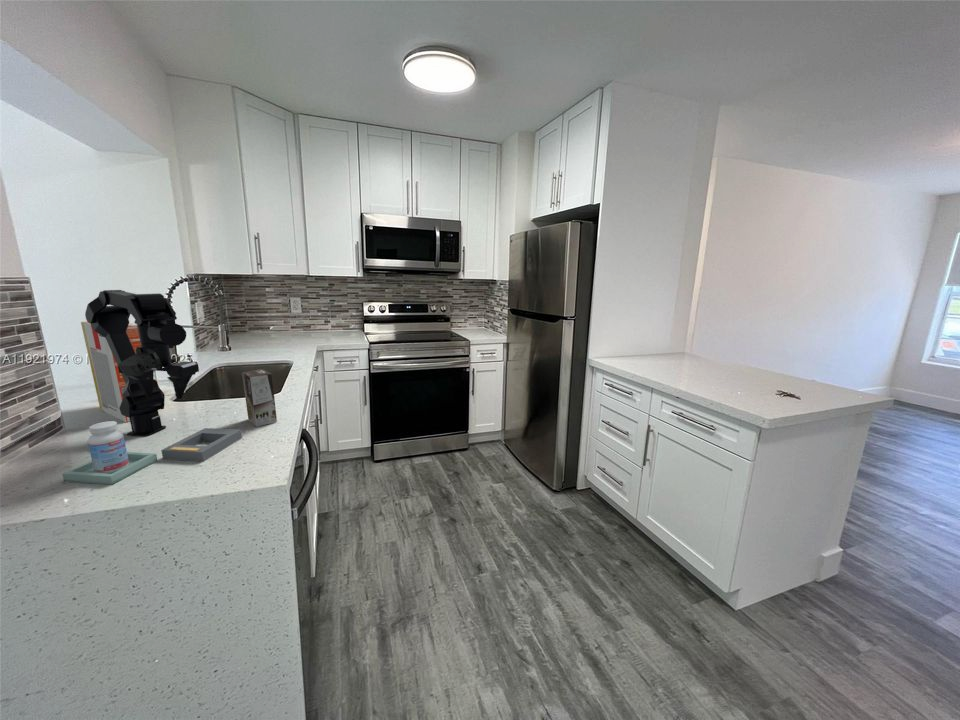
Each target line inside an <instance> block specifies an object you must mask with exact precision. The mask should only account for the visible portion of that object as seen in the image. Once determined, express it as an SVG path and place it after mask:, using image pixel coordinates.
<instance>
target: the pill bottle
mask: <svg viewBox="0 0 960 720" xmlns="http://www.w3.org/2000/svg"><path fill="white" fill-rule="evenodd" d="M118 428H119V427H118V422H117V421H114V420H111V421H110V420H108V421H102V422H97V423H94V424H92V425H90V426H89V427H88V429H89V433H90V434H91V435H90V436H89V437H88V439H87V446H88V450H89V453H90V458H91V460H92V464H93V469H94V472H95V473H105V474H109V473H113V472H116V471H118V470H120V469H122V468H124V467H126V466H128V465H129V459H128V455H127V452H128V451H127V446H126V441H125V437H124V432H122V431H121V430H119V429H118Z"/></svg>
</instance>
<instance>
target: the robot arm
mask: <svg viewBox="0 0 960 720" xmlns="http://www.w3.org/2000/svg"><path fill="white" fill-rule="evenodd" d="M176 314H177V313H176V311H175V310H174V308H173V307H172V305H171V304H170V303H169V300H168V299H167V298H166V297H165V296H164V295H163V294H162V293H134V292H128V291H125V290H121V289H108V290H107V289H106V290H105V289H104V290H103V291H101V290H100V291H99V294H98V296H97V297H95V298H94V299H93V300H92V301H90V302H89V303H87V306H86V309H85V314H84V316H85V317H84V318H85V320H86V322H88V323H90V324H91V326H92V328H93V330H94V331H95V332H97V333H99V334H100V335H102V336H103V337H105V338H106V340H107V342H108V345H109V347H110V349H111V351H112V354H113V356H114V358H115V361H116V363H117V365H118V370H119V373H121V374H122V376H123V379H124V381H125V387H124V390H123V393H122V395H123V400H122V402H121V405H120V408H119V409H120V411H121V414H122V415H123V416H126V417H129V418H130V422H129V423H130V427H131V431H129V432H127V433H126V435H127V436H138V437H139V436H140V437H141V436H143V437H148V436H150V435H153V434H155V433H157V432H159V431H162V430H164V429H166V428H167V425H162V420H161V415H159V411H160V410H164V409H165V399H166V397H165V396H166V395H165V392H163V390H161V388H160V386H159V383H158V381H157V379H155V378H154V371H156V372H166V373H167V375H168V376H167V379H168V380H169V381H171V382H172V384H173V389H174V393H175V398H176V399H177V400H181V399H182V398H183V396H184V394H185V392H186V389H187V386H188V384H189V382H190V380H191V378H192V377H193V376H195V375H196V374H197V373H199V372H200V369H199V364H198V363H197V362H196V361H187V360H186V361H185V360H184V361H180V362H177V359H176V358H172V353H171V349H174V347H176V346H180V345H181V344H183V343H184V342H185V341H186V338H187V331H186V329H185V328H184V327H183V326H182V325H181V324H178V323H176V321H177V319H178V317H177V316H176ZM130 316H131V317H133V318H134V324H137V328H138V334H139V339H140V344H141V346H140V347H136V348H137V349H136V353H135V351H134V349H133V346H132V344H131V342H130V339H129V337H128V335H127V333H126V330H127V328H128V325H129V323H130V320H129V319H130V318H131V317H130Z"/></svg>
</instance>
